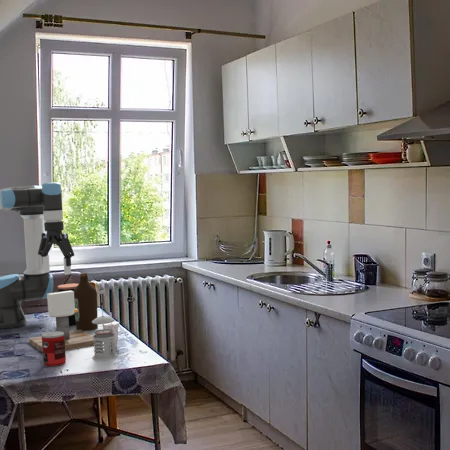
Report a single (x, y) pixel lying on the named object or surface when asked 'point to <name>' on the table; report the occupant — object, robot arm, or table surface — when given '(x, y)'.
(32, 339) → the post board
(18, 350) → the table surface
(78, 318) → the olive oil
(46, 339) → the canned food
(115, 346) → the smoothie
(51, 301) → the cap
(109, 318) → the french press
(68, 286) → the coffee jar
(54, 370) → the table surface
